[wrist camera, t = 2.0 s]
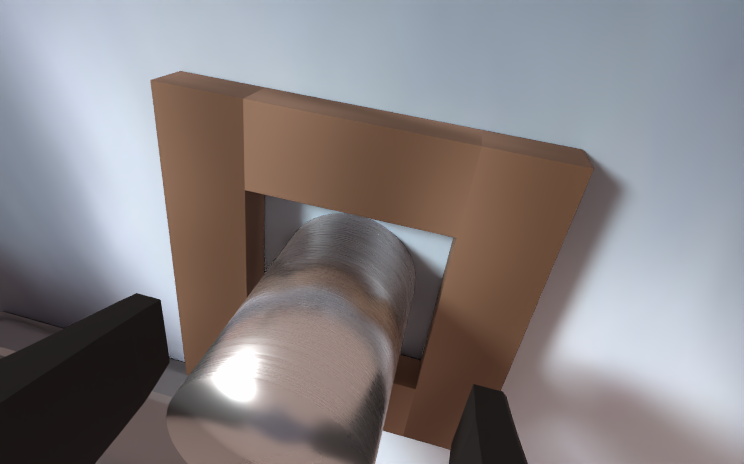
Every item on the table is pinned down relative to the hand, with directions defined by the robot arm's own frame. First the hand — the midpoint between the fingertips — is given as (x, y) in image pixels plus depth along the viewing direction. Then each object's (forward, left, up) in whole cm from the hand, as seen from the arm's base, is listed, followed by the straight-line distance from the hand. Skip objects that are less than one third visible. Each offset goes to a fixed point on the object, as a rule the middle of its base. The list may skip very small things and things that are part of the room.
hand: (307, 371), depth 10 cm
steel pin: (0, 0, -4) cm, 4 cm away
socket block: (0, 0, -4) cm, 4 cm away
